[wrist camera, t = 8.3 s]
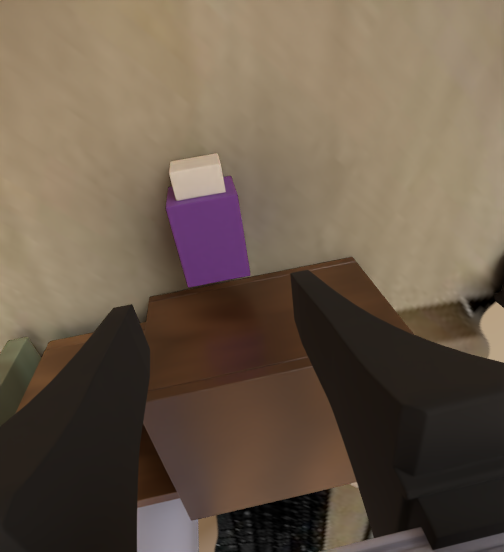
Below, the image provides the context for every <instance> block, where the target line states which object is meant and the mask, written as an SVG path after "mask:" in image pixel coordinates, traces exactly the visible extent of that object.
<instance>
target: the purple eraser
mask: <svg viewBox="0 0 504 552" xmlns="http://www.w3.org/2000/svg"><path fill="white" fill-rule="evenodd" d="M169 176H170V180H171V183H172V186H171V187H168V194H167V201H166V212H167V215H168V219H169V222H170V226H171V229H172V233H173V236H174V240H175V243H176V247H177V250H178V254H179V258H180V261H181V265H182V268H183V272H184V275H185V279H186V282H187V286H188V288H190V287H195V286H200V285H205V284H210V283H215V282H220V281H225V280H230V279H235V278H240V277H245V276H250V268H249V262H248V256H247V250H246V244H245V238H244V231H243V225H242V219H241V213H240V207H239V200H238V195H237V192H236V189H235V186H234V183H233V180H232V178H231V176H227V177H223V173H222V168H221V163H220V160H219V156H218V154H217V153H215V154H210V155H204V156H198V157H193V158H187V159H181V160H176V161H171V163H170V170H169Z"/></svg>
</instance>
